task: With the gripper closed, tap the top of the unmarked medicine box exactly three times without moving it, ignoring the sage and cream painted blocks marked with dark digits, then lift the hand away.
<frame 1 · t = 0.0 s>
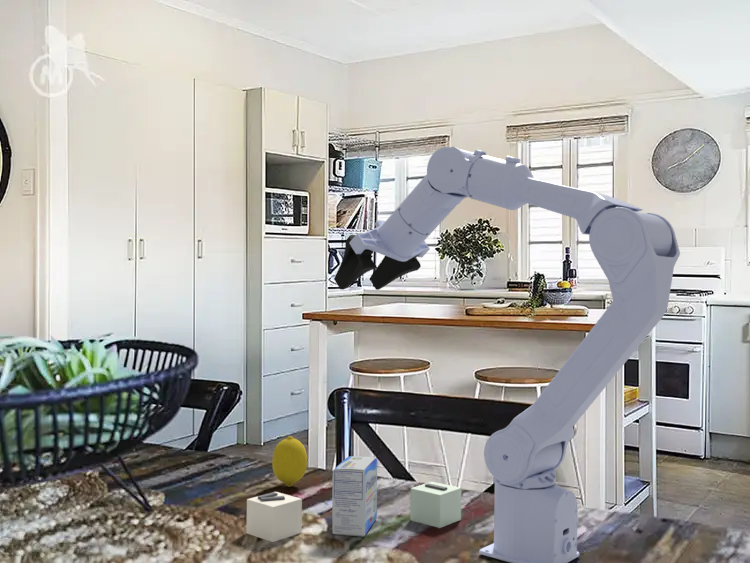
hand: (356, 284, 113), 32 cm above the table, tool tilted 50°, fingers open, 7 cm apart
sage digit block: (435, 520, 109), on the table
lemon: (289, 488, 125), on the table
cream digit block: (273, 533, 102), on the table
medicine box: (354, 528, 105), on the table
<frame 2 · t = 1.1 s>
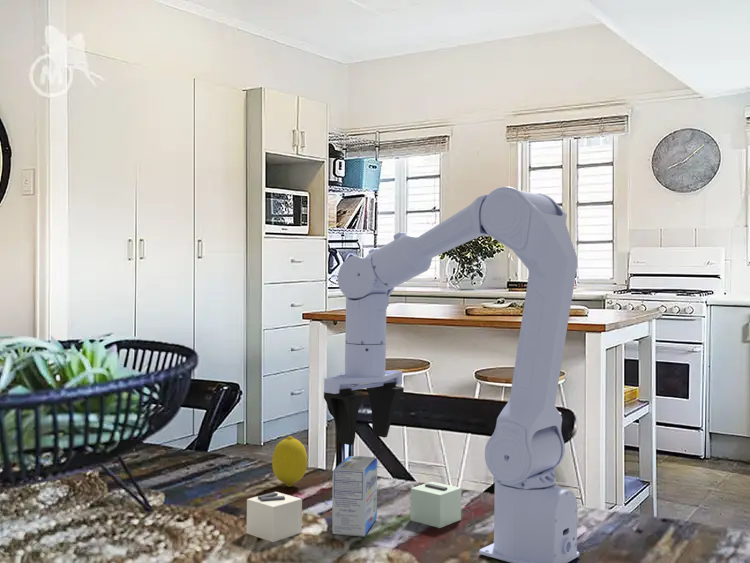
hand: (363, 440, 111), 10 cm above the table, tool pointing down, fingers open, 7 cm apart
nothing on the table moved.
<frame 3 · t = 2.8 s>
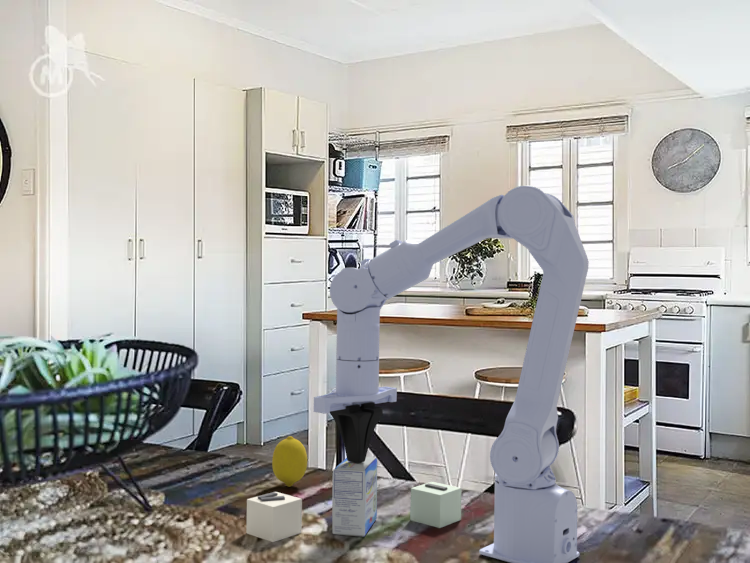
hand: (356, 461, 105), 9 cm above the table, tool pointing down, fingers closed
nothing on the table moved.
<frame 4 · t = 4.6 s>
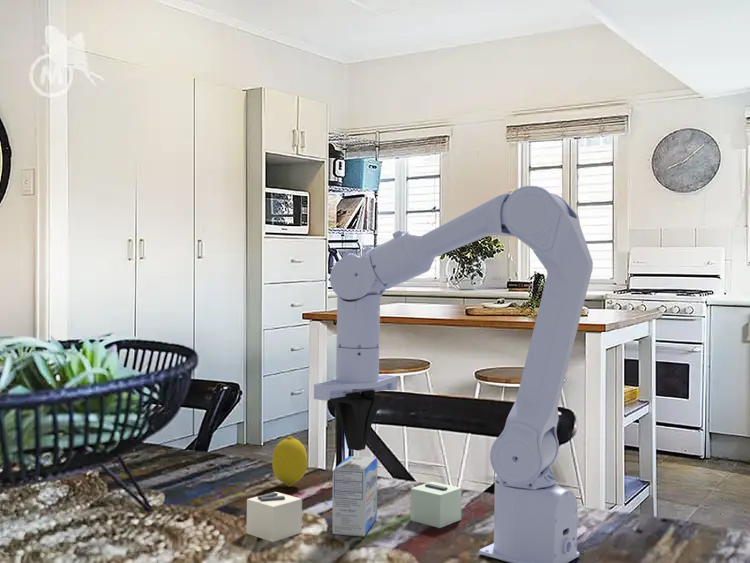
hand: (356, 448, 105), 10 cm above the table, tool pointing down, fingers closed
nothing on the table moved.
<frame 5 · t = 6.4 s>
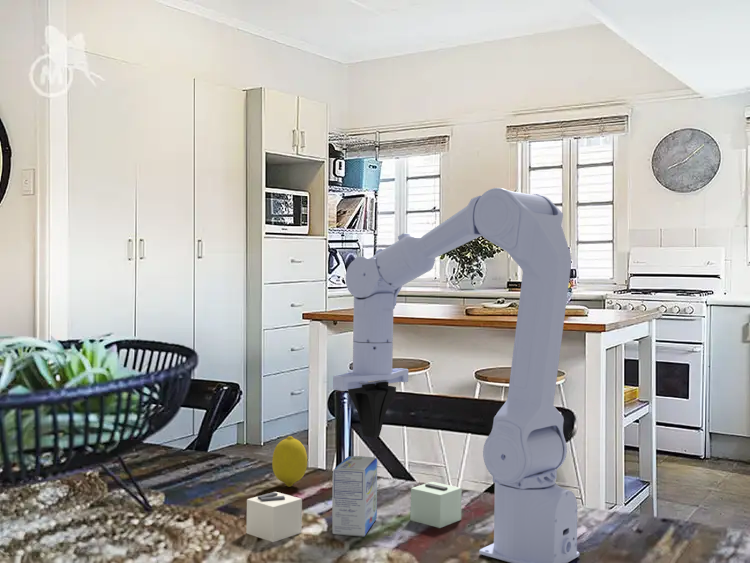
hand: (371, 436, 113), 10 cm above the table, tool pointing down, fingers closed
nothing on the table moved.
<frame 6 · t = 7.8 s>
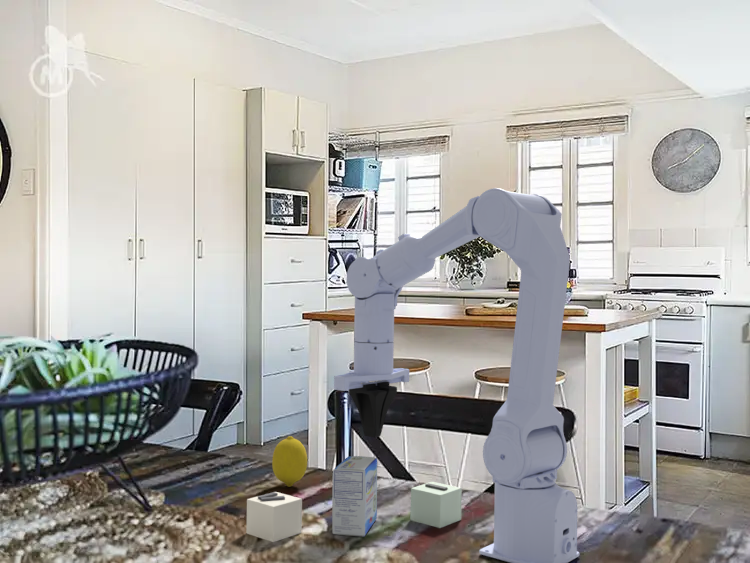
hand: (372, 436, 114), 10 cm above the table, tool pointing down, fingers closed
nothing on the table moved.
at the end: medicine box moved 0.3 cm from its start; medicine box tilted 0°; the gripper is holding nothing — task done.
